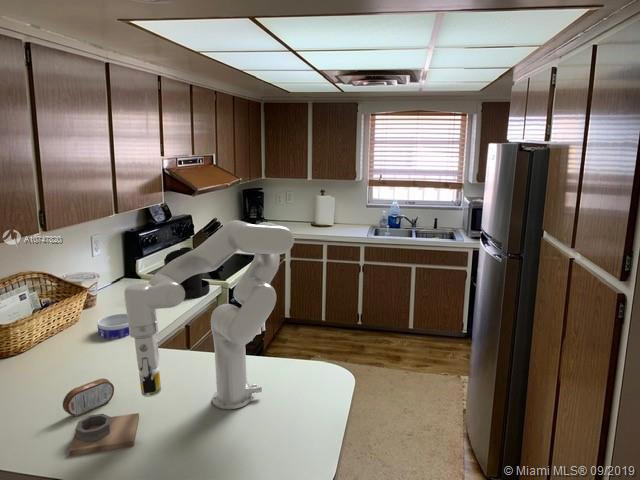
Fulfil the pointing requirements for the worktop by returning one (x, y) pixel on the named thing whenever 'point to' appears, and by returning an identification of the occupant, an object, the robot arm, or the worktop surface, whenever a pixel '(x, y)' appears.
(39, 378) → the worktop surface
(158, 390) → the supplement bottle
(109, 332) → the dog bowl
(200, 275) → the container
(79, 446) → the holder board
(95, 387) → the tin
